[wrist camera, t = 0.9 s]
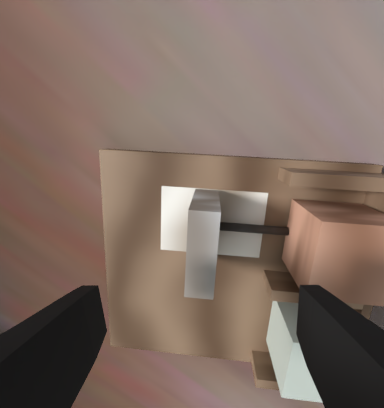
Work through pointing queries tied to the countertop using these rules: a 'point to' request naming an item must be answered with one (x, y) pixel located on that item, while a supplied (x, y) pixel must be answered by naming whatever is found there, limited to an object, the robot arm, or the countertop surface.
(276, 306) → the block
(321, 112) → the countertop surface
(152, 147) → the countertop surface
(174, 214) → the lane rack
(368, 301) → the tethered block
